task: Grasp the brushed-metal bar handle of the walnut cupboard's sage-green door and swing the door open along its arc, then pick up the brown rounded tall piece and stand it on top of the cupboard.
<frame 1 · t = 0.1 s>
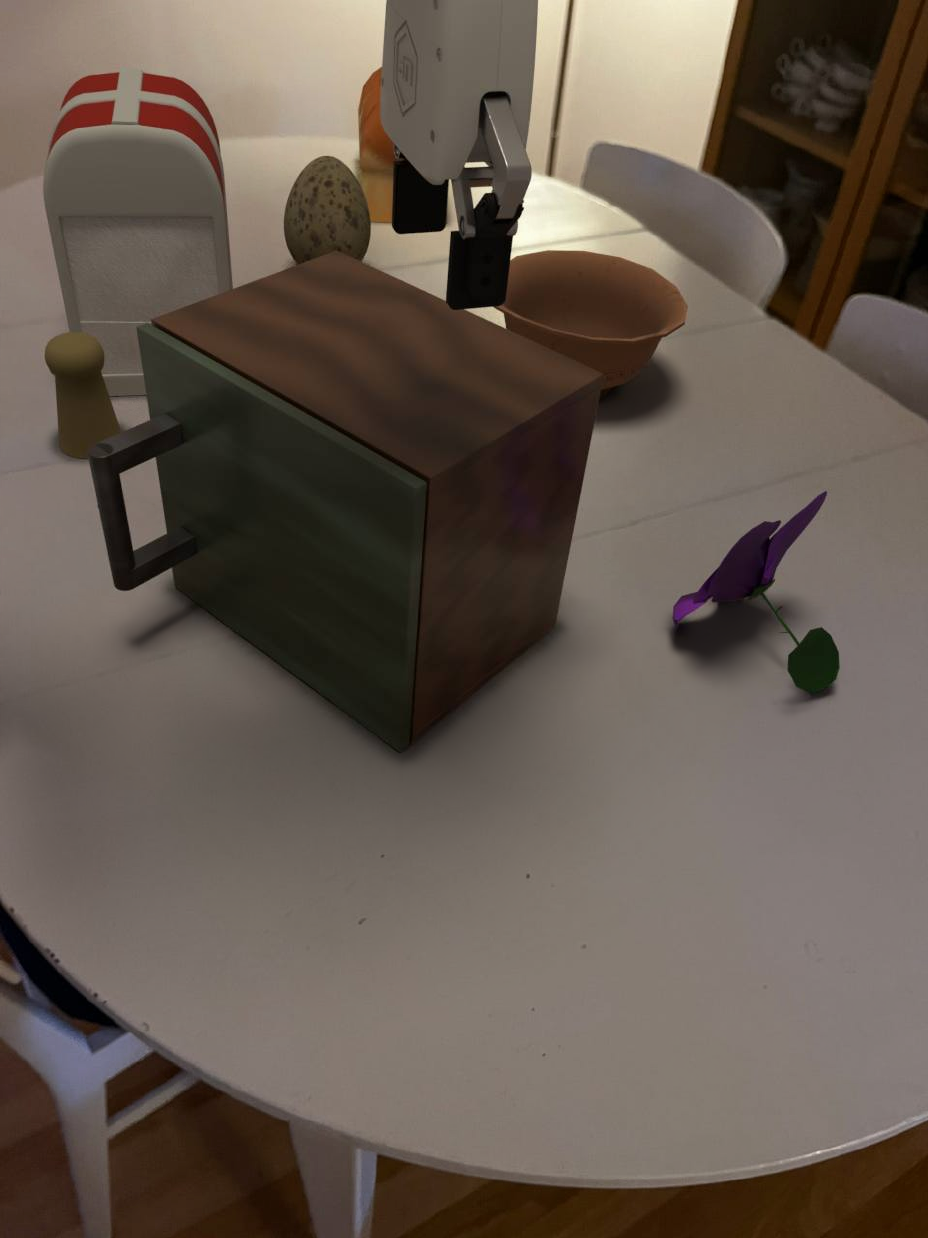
hand: (445, 266, 57), 34 cm above the table, tool pointing down, fingers open, 9 cm apart
cupboard door: (240, 565, 71), point 12 cm above the table, hinge at 0.0°
decorative egg: (327, 278, 132), on the table
cupboard: (370, 604, 87), on the table
flower: (758, 652, 86), on the table
bread: (399, 192, 155), on the table
bowl: (572, 381, 117), on the table
white box red top: (162, 355, 114), on the table
brown rounded tall piece: (91, 442, 101), on the table
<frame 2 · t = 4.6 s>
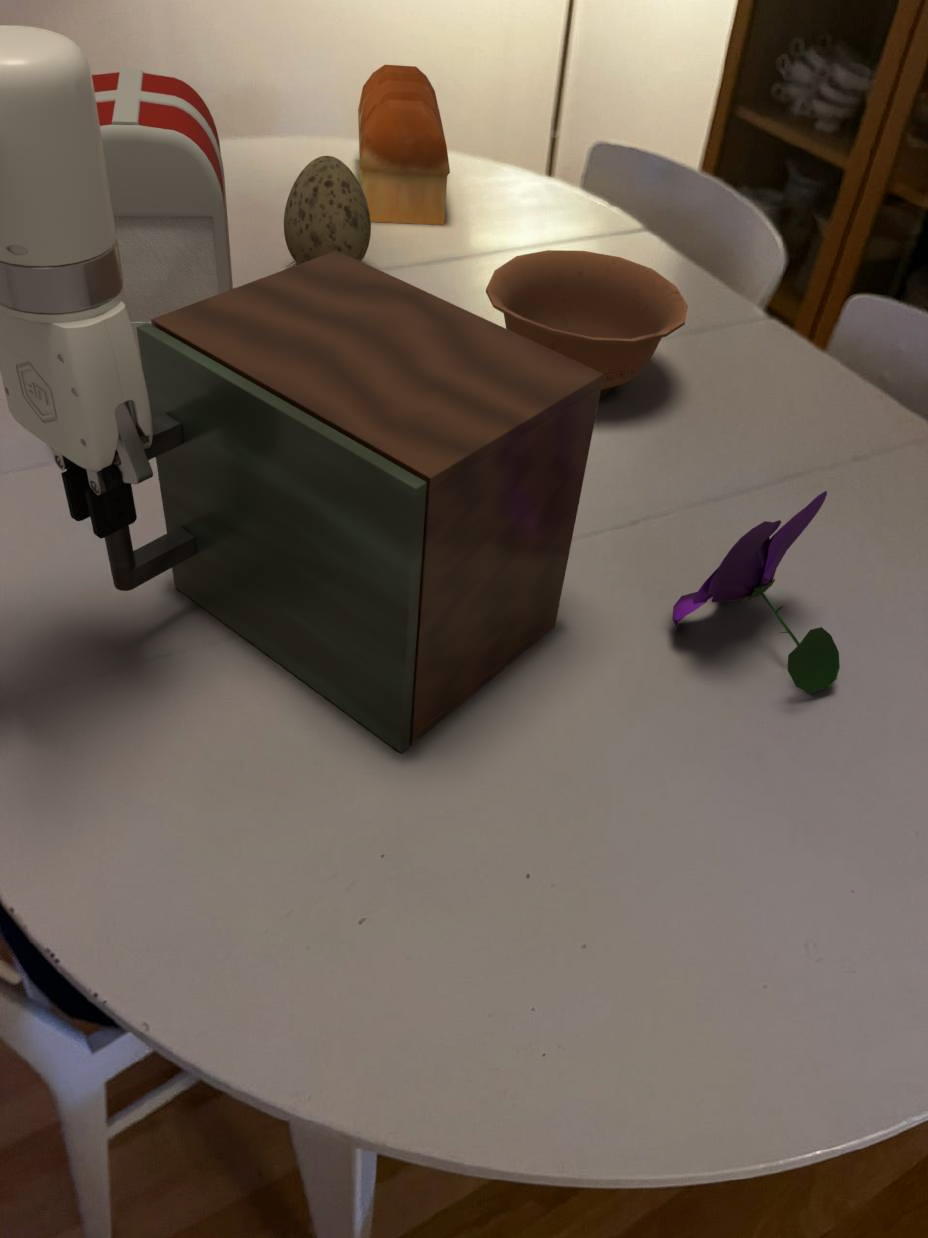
hand: (104, 518, 72), 13 cm above the table, tool pointing down, fingers closed on cupboard door, 2 cm apart
cupboard door: (240, 565, 71), point 12 cm above the table, hinge at 0.0°, touching gripper
everything else where it was.
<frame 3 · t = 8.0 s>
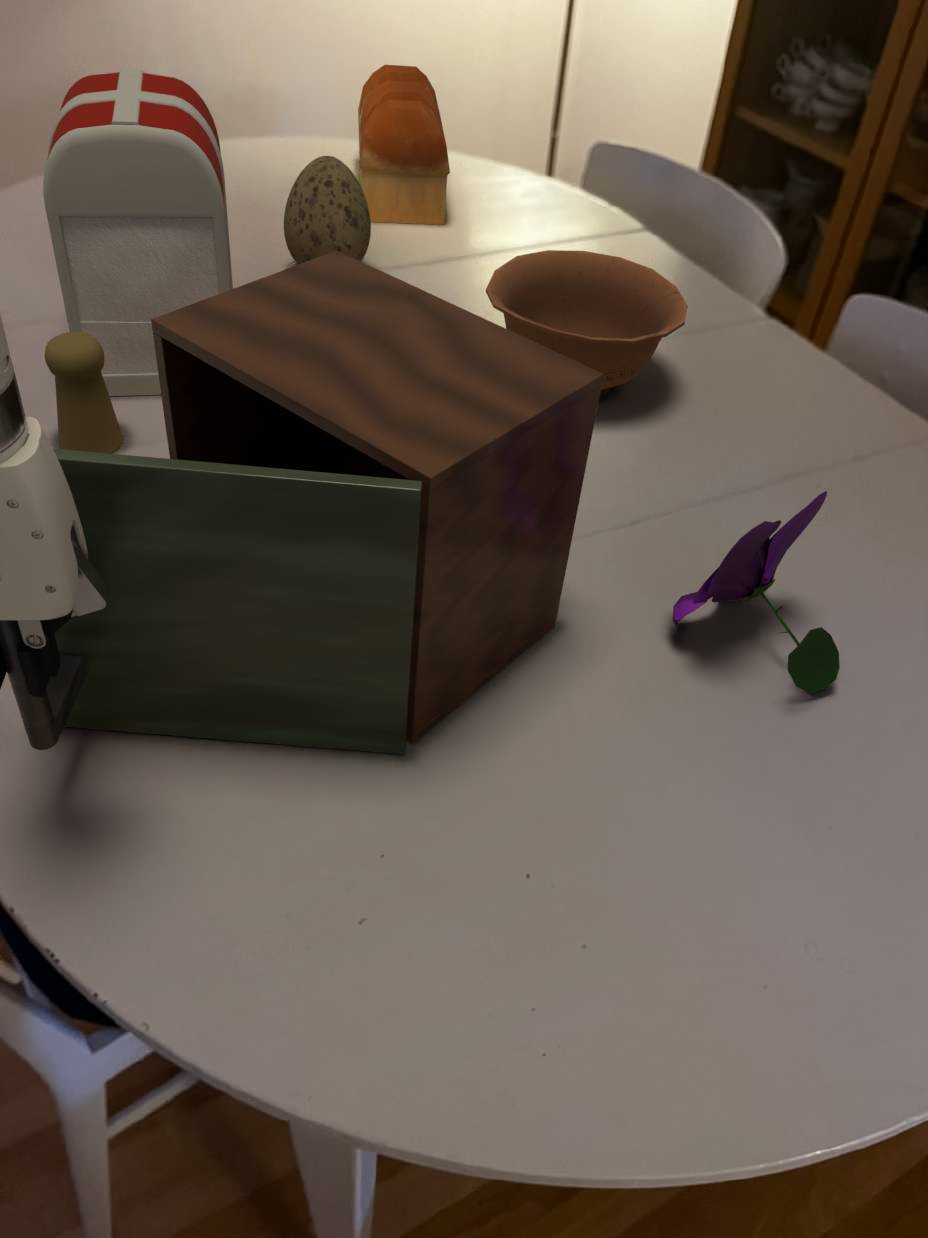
hand: (20, 678, 61), 13 cm above the table, tool pointing down, fingers closed on cupboard door, 2 cm apart
cupboard door: (202, 653, 64), point 12 cm above the table, hinge at 38.1°, touching gripper
everything else where it was.
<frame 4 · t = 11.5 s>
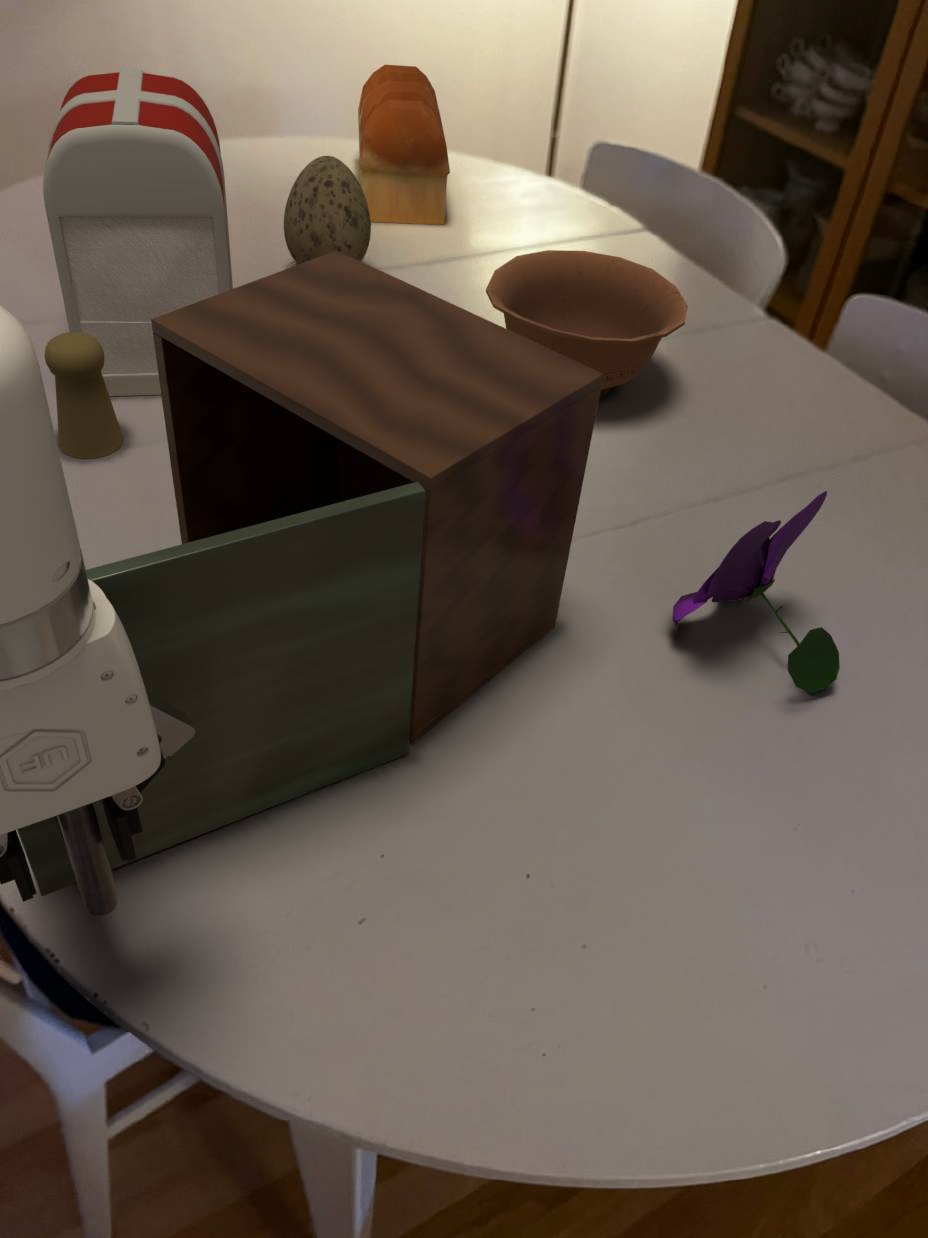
hand: (73, 856, 54), 11 cm above the table, tool pointing down, fingers open, 4 cm apart
cupboard door: (243, 736, 60), point 12 cm above the table, hinge at 70.4°
everything else where it was.
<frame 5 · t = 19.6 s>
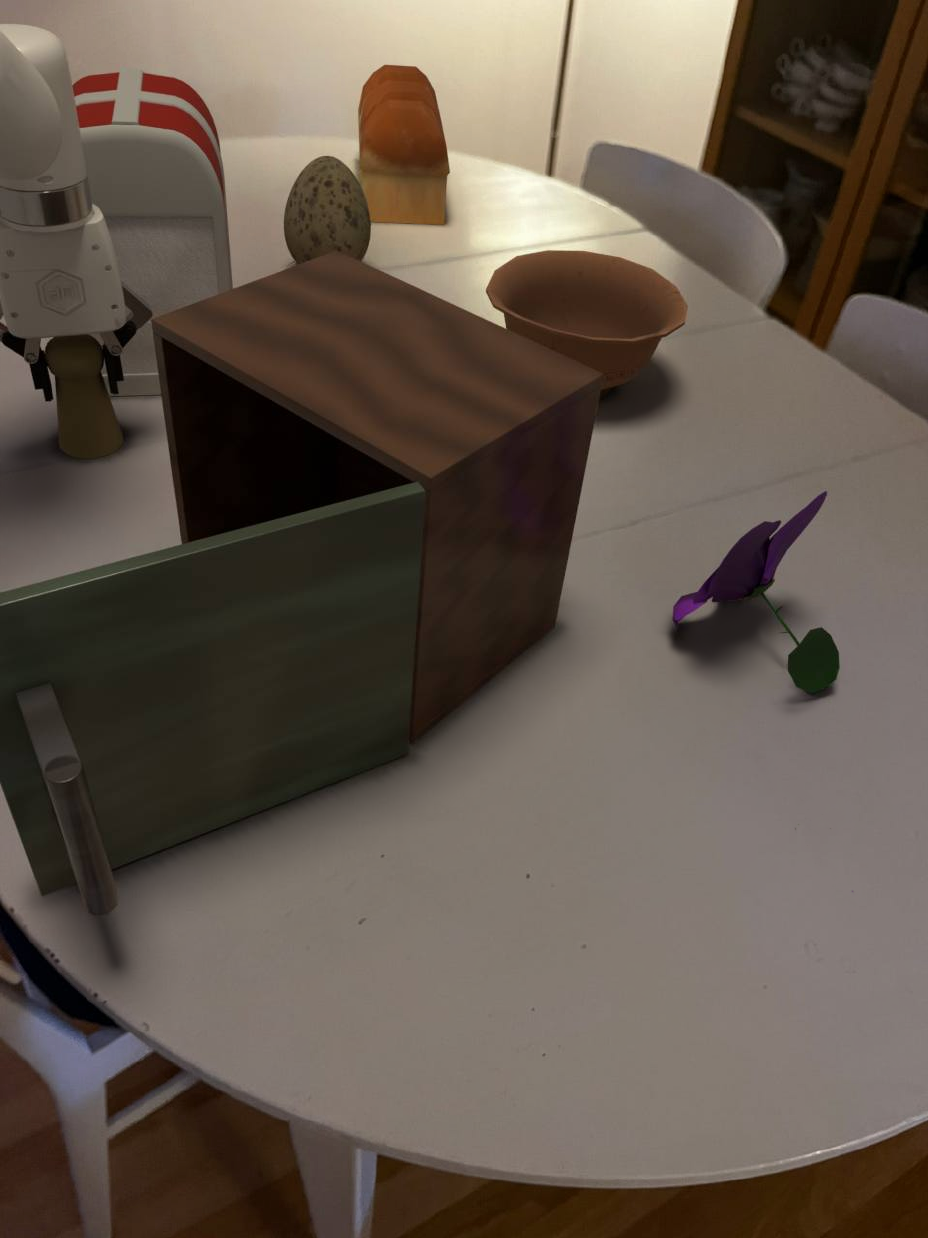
hand: (81, 388, 97), 6 cm above the table, tool pointing down, fingers closed on brown rounded tall piece, 5 cm apart
brown rounded tall piece: (91, 442, 101), on the table, touching gripper
everything else where it was.
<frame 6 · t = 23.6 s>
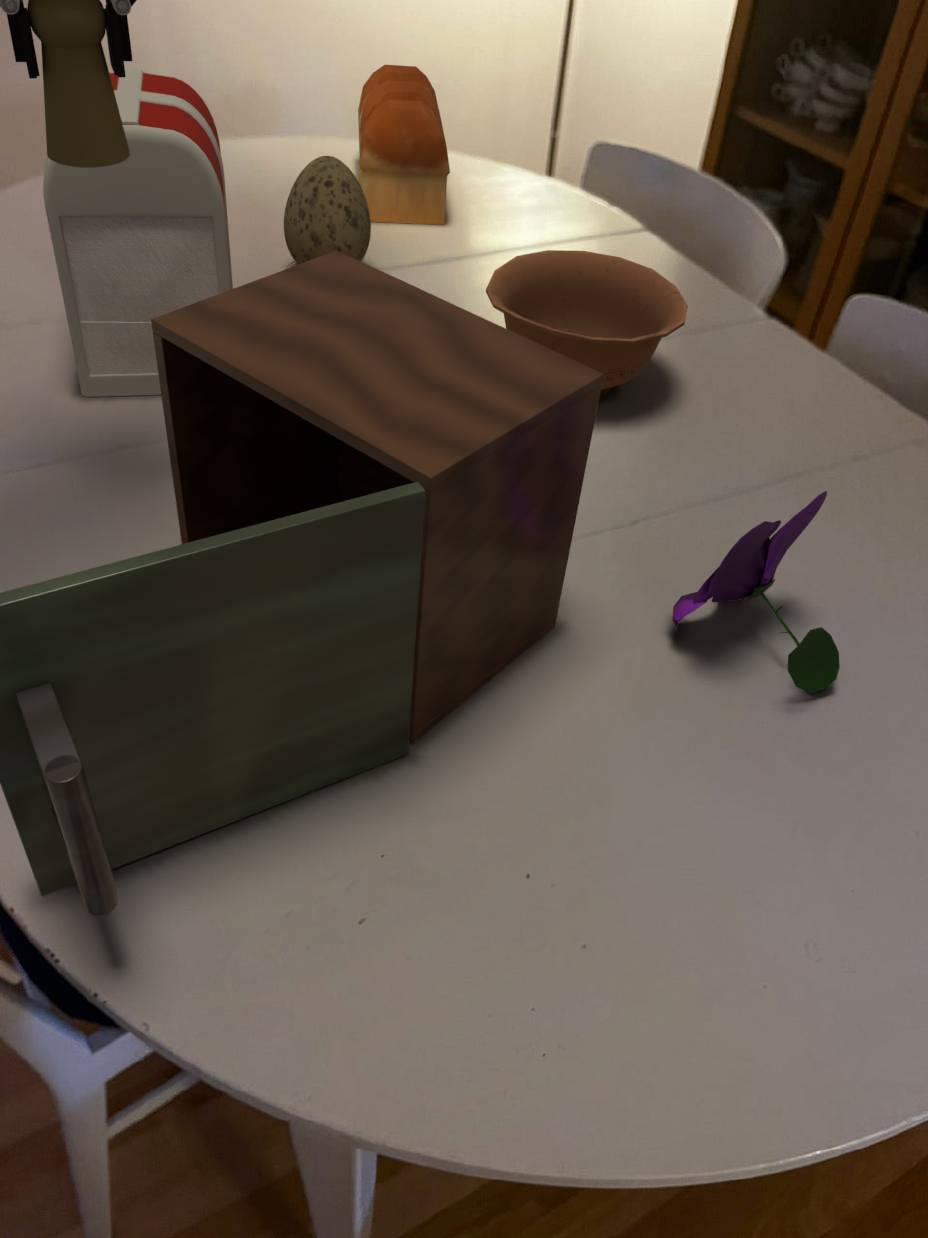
hand: (76, 69, 74), 35 cm above the table, tool pointing down, fingers closed on brown rounded tall piece, 5 cm apart
brown rounded tall piece: (89, 156, 78), point 29 cm above the table, touching gripper
everything else where it was.
when the fingers open (30 cm above the table, at t = 28.0 s): brown rounded tall piece stays where it is, resting on cupboard.
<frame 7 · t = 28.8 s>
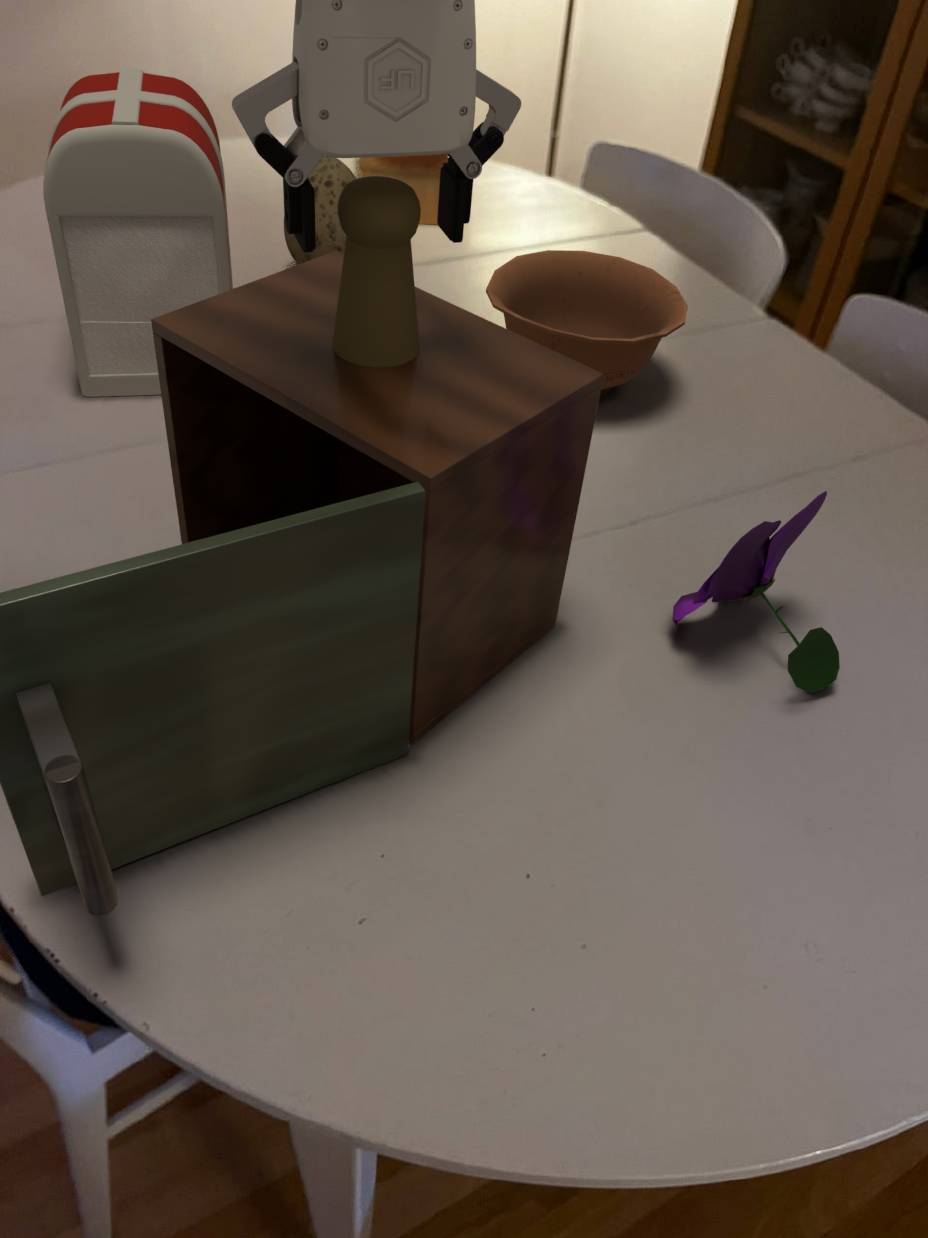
hand: (378, 238, 65), 32 cm above the table, tool pointing down, fingers open, 9 cm apart
brown rounded tall piece: (376, 348, 70), point 24 cm above the table, touching cupboard
everything else where it was.
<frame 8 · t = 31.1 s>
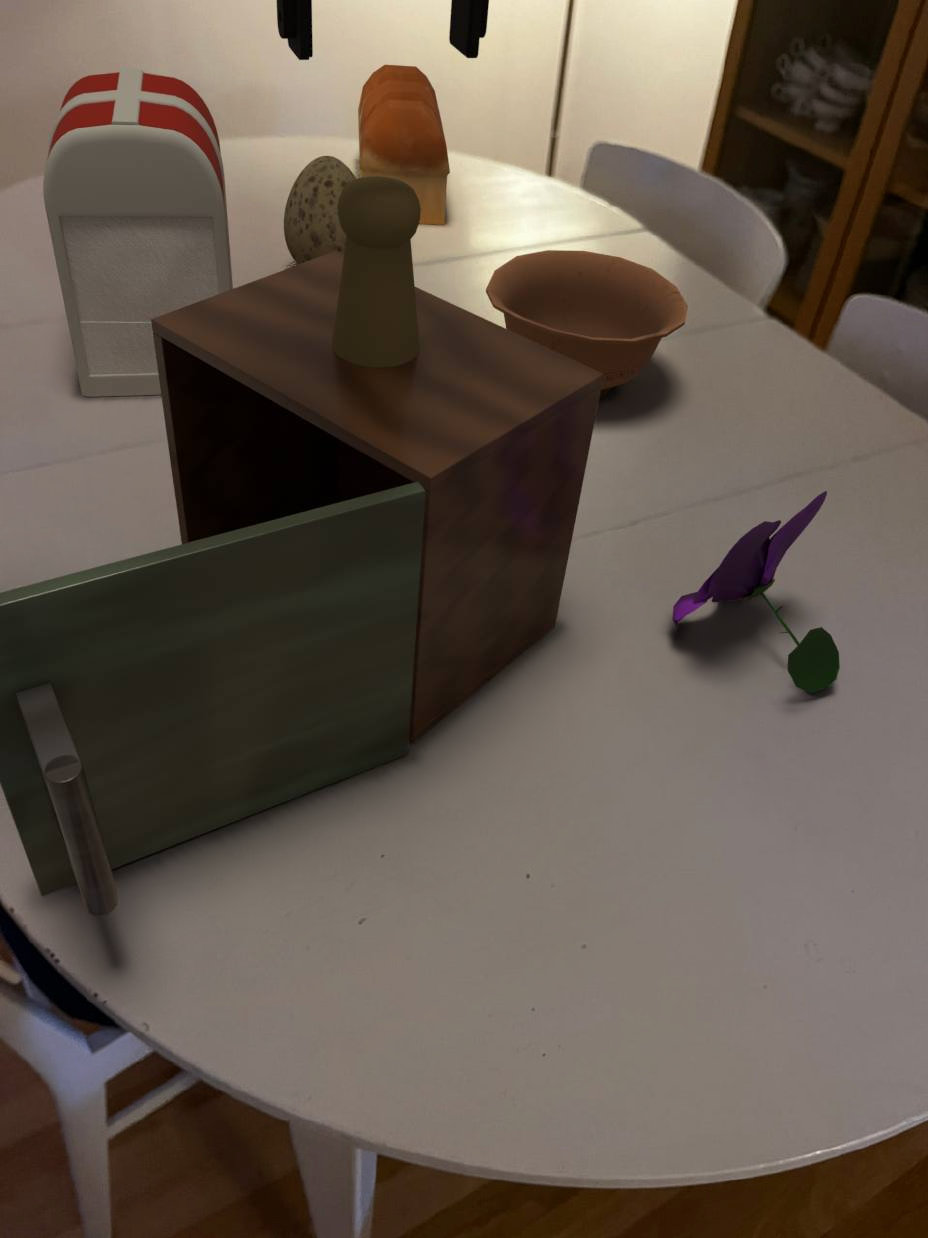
hand: (383, 52, 58), 42 cm above the table, tool pointing down, fingers open, 9 cm apart
nothing on the table moved.
at the end: cupboard door at +70° (first picture: +0°); brown rounded tall piece inside the target area on the cupboard (0.0 cm from its centre), point 23.8 cm above the cupboard's base; brown rounded tall piece tilted 0° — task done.
